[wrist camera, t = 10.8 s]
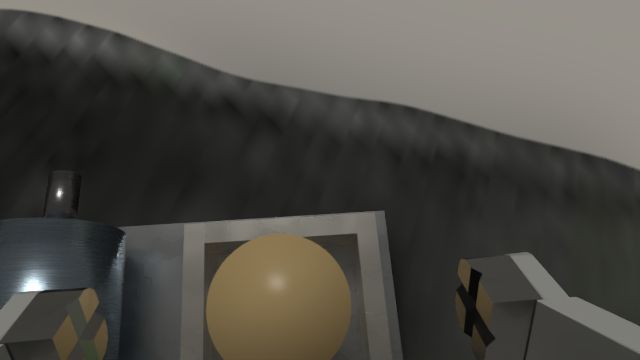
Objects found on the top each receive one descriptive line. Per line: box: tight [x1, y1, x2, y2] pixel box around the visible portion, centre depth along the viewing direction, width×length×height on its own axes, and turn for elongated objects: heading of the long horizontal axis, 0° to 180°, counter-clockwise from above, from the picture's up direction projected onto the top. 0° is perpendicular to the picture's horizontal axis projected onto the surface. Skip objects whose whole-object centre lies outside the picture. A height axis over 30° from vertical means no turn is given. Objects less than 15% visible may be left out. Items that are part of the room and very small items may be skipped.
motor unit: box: [0, 170, 403, 360], centre depth 22 cm, size 20×13×9 cm, turn 94°
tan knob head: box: [206, 234, 351, 360], centre depth 19 cm, size 5×5×10 cm
